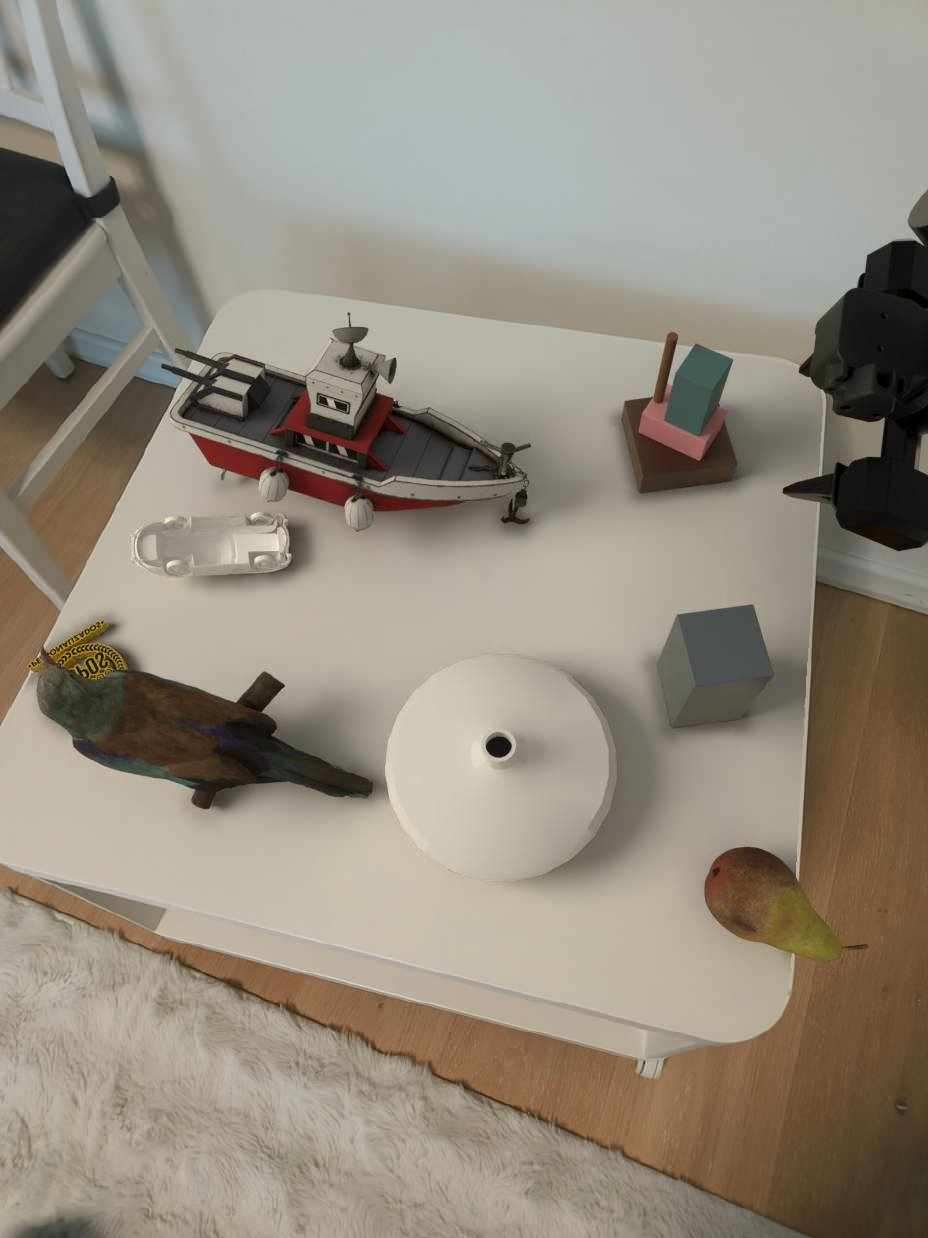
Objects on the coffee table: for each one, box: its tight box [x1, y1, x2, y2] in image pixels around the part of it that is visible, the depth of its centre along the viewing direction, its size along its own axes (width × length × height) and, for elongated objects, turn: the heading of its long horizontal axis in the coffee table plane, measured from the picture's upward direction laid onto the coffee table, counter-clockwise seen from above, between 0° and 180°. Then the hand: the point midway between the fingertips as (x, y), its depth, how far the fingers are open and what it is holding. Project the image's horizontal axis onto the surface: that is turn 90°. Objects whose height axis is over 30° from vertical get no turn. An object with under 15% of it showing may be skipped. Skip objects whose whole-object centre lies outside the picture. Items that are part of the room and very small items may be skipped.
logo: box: [26, 619, 130, 680], centre depth 65 cm, size 7×1×8 cm
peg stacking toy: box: [639, 331, 734, 461], centre depth 64 cm, size 6×4×10 cm, turn 57°
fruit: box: [703, 846, 870, 963], centre depth 53 cm, size 6×6×12 cm
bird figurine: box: [36, 645, 374, 811], centre depth 57 cm, size 13×10×20 cm
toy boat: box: [160, 312, 532, 532], centre depth 65 cm, size 13×30×17 cm, turn 73°
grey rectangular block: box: [656, 603, 775, 729], centre depth 58 cm, size 5×5×9 cm
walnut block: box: [621, 396, 738, 494], centre depth 69 cm, size 8×8×2 cm
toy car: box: [130, 511, 293, 578], centre depth 67 cm, size 5×12×4 cm, turn 99°
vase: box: [384, 653, 618, 883], centre depth 57 cm, size 16×16×7 cm
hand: (795, 432), depth 60 cm, fingers open, 9 cm apart
